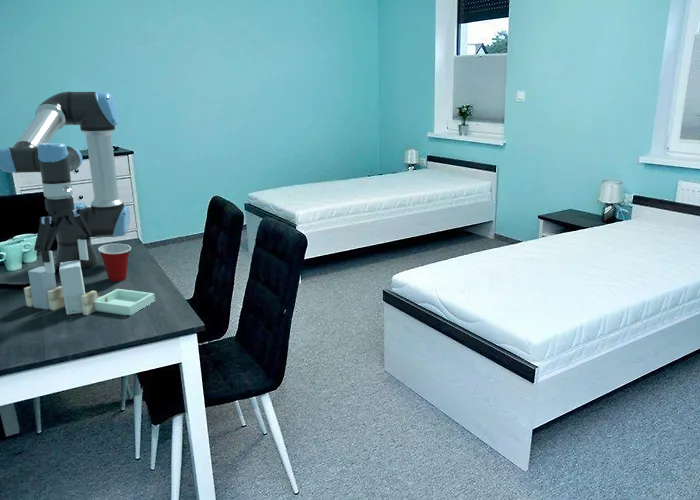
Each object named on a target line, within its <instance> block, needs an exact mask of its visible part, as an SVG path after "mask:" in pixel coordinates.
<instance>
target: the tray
mask: <svg viewBox="0 0 700 500" xmlns="http://www.w3.org/2000/svg"><path fill="white" fill-rule="evenodd" d="M106 297H107V298H108V302H105V298H106ZM153 302H155V303H156V296H155V292H154V293H152V292H145V291H139V290H131V289H122V288H115V289H114V290H112V291H111V292H108V293H106V294H104V295H101V297H100V298H98V301H95V302H94V304H95V311H94V312H101V313H107V314H114V315H121V316H127V315H129V316H128V317H132V316H134V315H135V313H136V312H137V313H138V311H139V310H141V309H143V308H144V309H146V308H147V307H146V306H148V305H149V306H151V305H152V304H151V303H153ZM150 304H151V305H150ZM153 304H154V303H153ZM149 306H148V307H149ZM145 307H146V308H145ZM144 309H143V310H144ZM141 311H142V310H141ZM139 312H140V311H139ZM137 313H136V314H137ZM133 314H134V315H133ZM131 315H132V316H131Z"/></svg>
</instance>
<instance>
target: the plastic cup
mask: <svg viewBox="0 0 700 500" xmlns="http://www.w3.org/2000/svg"><path fill="white" fill-rule="evenodd" d="M97 250H98V252H99V254H100V256H101V259H102V262H103V266H104V269H105V272H106V274H107V275H106V276H107V278H108V279H109V280H108V281H110V282H122V281H124V280H126V279H127V277H128V276H127V274H128V265H129V255H130V252H131V250H132V246H130V245H129V244H124V243H107V244H103V245H101V246H98V249H97Z"/></svg>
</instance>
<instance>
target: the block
mask: <svg viewBox="0 0 700 500" xmlns="http://www.w3.org/2000/svg"><path fill="white" fill-rule="evenodd" d="M27 272H28V273H27V274H28V278H29V279H28V280H29V284H30V285H29V286H30V287H31V293H32V299H33V308H35V309H43V310H49V309H50V307H49V300H48V294H47V291H50V290H52V289H54V288H57V287H58V286H57V281H56V280H57V279H56V274H55V273H56V272H55V273H47V272H46V271H45V266H38V267H35V268H33V269H30V270H28V271H27Z"/></svg>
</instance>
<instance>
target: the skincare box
mask: <svg viewBox="0 0 700 500" xmlns="http://www.w3.org/2000/svg"><path fill="white" fill-rule="evenodd" d="M59 266H60V268H58V271H59V278H60V283H61V284H60V286H62V291H63V297H64V302H65V305H64V307H65V312H66V315H73V314H83V309H82V302H81V296H82V295H84V294H85V293H86V289H85V283H84V277H83V271H82V268H81V264H80V260H76V261H69V262H61V263H60V265H59Z"/></svg>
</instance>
